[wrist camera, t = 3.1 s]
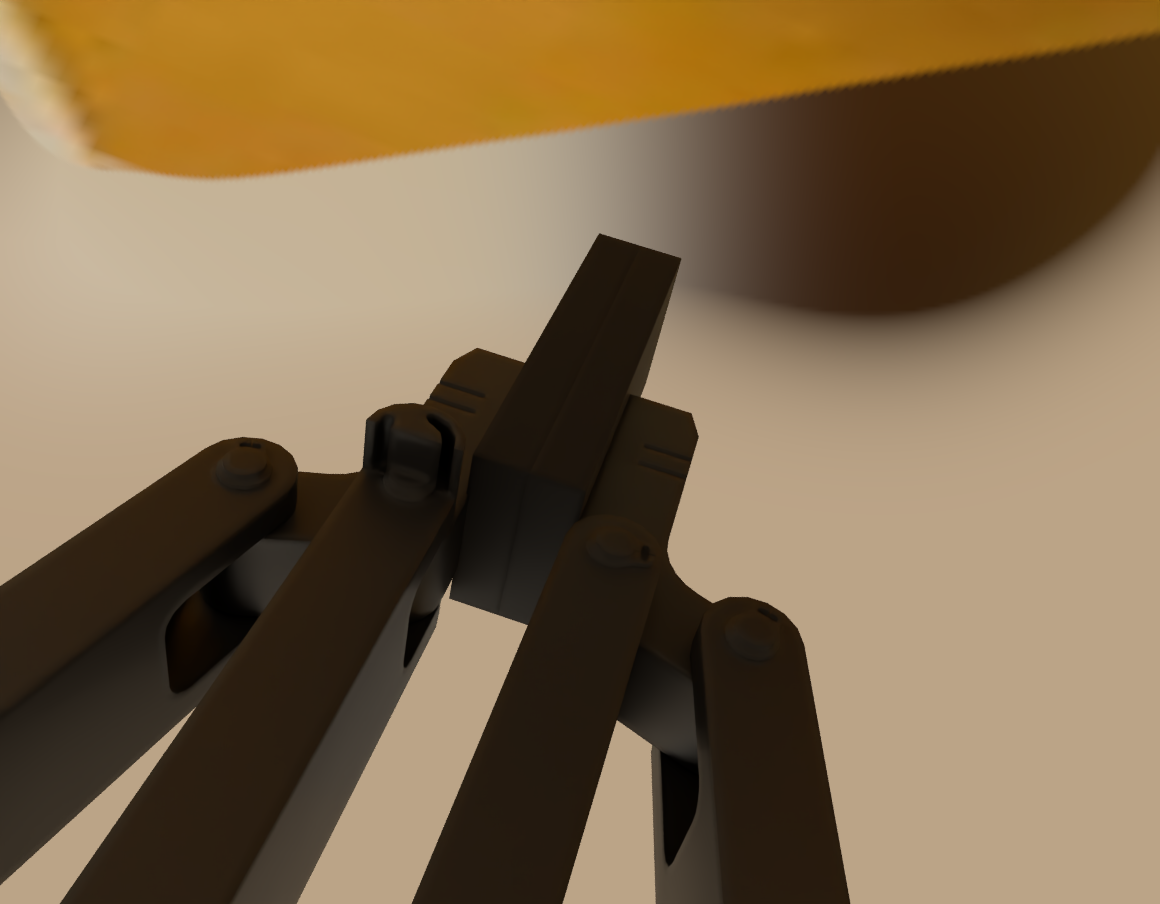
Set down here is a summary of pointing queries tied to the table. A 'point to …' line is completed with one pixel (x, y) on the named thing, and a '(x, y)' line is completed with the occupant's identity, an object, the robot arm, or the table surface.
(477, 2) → the table surface
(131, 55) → the table surface
